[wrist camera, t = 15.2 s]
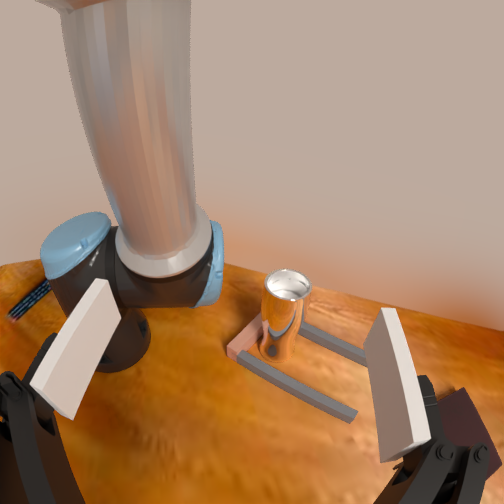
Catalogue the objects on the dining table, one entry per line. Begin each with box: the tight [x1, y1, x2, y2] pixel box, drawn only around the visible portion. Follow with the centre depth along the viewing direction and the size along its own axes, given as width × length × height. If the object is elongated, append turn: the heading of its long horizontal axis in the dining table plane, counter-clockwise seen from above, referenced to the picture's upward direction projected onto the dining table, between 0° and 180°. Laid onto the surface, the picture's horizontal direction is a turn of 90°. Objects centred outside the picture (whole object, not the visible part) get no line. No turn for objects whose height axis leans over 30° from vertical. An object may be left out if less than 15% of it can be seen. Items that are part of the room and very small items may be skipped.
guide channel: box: [227, 312, 367, 424], centre depth 43 cm, size 23×13×3 cm, turn 55°
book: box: [437, 387, 502, 481], centre depth 26 cm, size 12×19×3 cm, turn 10°
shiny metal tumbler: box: [259, 269, 312, 363], centre depth 42 cm, size 7×7×15 cm
